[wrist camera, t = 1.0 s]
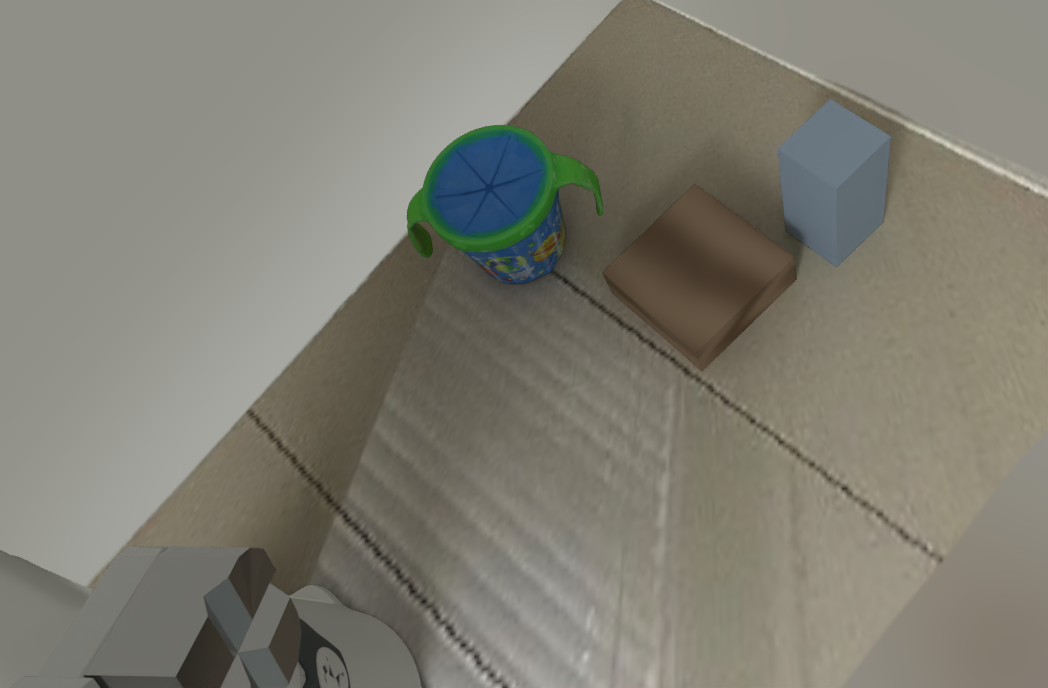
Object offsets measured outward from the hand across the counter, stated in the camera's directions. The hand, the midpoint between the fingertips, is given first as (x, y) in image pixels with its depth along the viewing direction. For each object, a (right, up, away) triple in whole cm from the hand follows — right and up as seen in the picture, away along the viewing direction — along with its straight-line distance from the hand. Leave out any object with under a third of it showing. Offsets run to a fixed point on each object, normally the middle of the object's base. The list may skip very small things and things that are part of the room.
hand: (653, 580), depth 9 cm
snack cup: (-1, +10, +69) cm, 70 cm away
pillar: (+22, +11, +61) cm, 66 cm away
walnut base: (+13, +7, +63) cm, 64 cm away
